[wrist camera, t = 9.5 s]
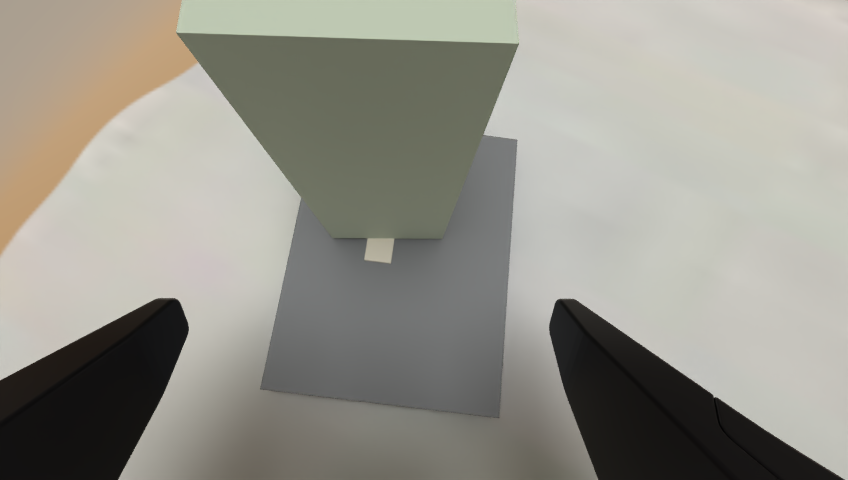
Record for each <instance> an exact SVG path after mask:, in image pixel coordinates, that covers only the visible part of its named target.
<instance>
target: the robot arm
mask: <svg viewBox="0 0 848 480" xmlns="http://www.w3.org/2000/svg"><path fill="white" fill-rule="evenodd" d="M188 331H189V326H188V322H187V319H186V317H185V314H184V311H183V309H182V306H181V304H180V302H179V301H178V300H177V299H175V298H158V299H155V300H153V301H151V302H149V303H147V304H145V305H143V306H142V307H140V308H138V309H136V310H134V311H132V312H130V313H128V314H126V315H124V316H122V317H121V318H119V319H117V320H115V321H113V322H111V323H109V324H107V325H105V326H103V327H101V328H99V329H98V330H96V331H94V332H92V333H90V334H88V335H86V336H84V337H82V338H80V339H78V340H77V341H75V342H73V343H71V344H69V345H67V346H65V347H63V348H61V349H59V350H57V351H56V352H54V353H52V354H50V355H48V356H46V357H44V358H42V359H40V360H38V361H36V362H35V363H33V364H31V365H29V366H27V367H25V368H23V369H21V370H19V371H17V372H15V373H13V374H12V375H10V376H8V377H6V378H4V379H2V380H0V480H118V479H119V477H120V475H121V473H122V471H123V469H124V467H125V466H126V464H127V462H128V460H129V458H130V456H131V454H132V452H133V451H134V449H135V447H136V445H137V443H138V441H139V439H140V437H141V436H142V434H143V432H144V430H145V428H146V426H147V424H148V422H149V421H150V419H151V417H152V415H153V413H154V411H155V409H156V407H157V406H158V404H159V402H160V400H161V398H162V396H163V394H164V391H165V389H166V387H167V385H168V382H169V380H170V377H171V375H172V372H173V370H174V367H175V365H176V362H177V360H178V358H179V355H180V353H181V350H182V348H183V345H184V343H185V340H186V338H187V335H188ZM549 331H550V336H551V340H552V344H553V348H554V352H555V356H556V360H557V363H558V367H559V371H560V375H561V379H562V383H563V386H564V390H565V393H566V395H567V398H568V401H569V404H570V406H571V409H572V412H573V414H574V417H575V420H576V422H577V425H578V427H579V430H580V433H581V435H582V438H583V441H584V443H585V446H586V448H587V451H588V454H589V456H590V459H591V462H592V464H593V467H594V470H595V472H596V475H597V477H598V480H844V479H843V478H841V477H839V476H838V475H836V474H835V473H833V472H831V471H830V470H828V469H826V468H825V467H823V466H822V465H820V464H818V463H817V462H815V461H813V460H812V459H810V458H809V457H807V456H805V455H804V454H802V453H801V452H799V451H797V450H796V449H794V448H793V447H791V446H789V445H788V444H786V443H785V442H783V441H782V440H780V439H778V438H777V437H775V436H774V435H772V434H770V433H769V432H767V431H766V430H764V429H763V428H761V427H760V426H758V425H757V424H755V423H754V422H752V421H751V420H749V419H748V418H746V417H745V416H743V415H742V414H740V413H739V412H737V411H736V410H734V409H733V408H732V407H730V406H729V405H727V404H726V403H724V402H723V401H721V400H720V399H719V398H717V397H715V398H714V397H713V395H712V394H711V393H710V392H708V391H707V390H705V389H704V388H702V387H701V386H700V385H698V384H697V383H695V382H694V381H692V380H691V379H689V378H688V377H687V376H685V375H684V374H682V373H681V372H679V371H678V370H676V369H675V368H674V367H672V366H671V365H669V364H668V363H666V362H665V361H663V360H662V359H661V358H659V357H658V356H656V355H655V354H653V353H652V352H650V351H649V350H648V349H646V348H645V347H643V346H642V345H640V344H639V343H637V342H636V341H635V340H633V339H632V338H630V337H629V336H627V335H626V334H624V333H623V332H622V331H620V330H619V329H617V328H616V327H614V326H613V325H611V324H610V323H608V322H607V321H606V320H604V319H603V318H601V317H600V316H598V315H597V314H595V313H594V312H593V311H591V310H590V309H588V308H587V307H585V306H584V305H582V304H581V303H580V302H578V301H577V300H575V299H558V300H557V301H556V303H555V306H554V309H553V313H552V317H551V321H550V325H549Z"/></svg>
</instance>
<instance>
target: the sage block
mask: <svg viewBox="0 0 848 480" xmlns="http://www.w3.org/2000/svg"><path fill="white" fill-rule="evenodd" d="M176 33H177V34H178V36H179V37H180V38H181V40H182V41H183V42H184V44H185V45H186V46H187V47H188V49H189V50H190V51H191V53H192V54H193V55H194V57H195V58H196V59H197V61H198V62H199V63H200V65H201V66H202V67H203V69H204V70H205V71H206V73H207V74H208V75H209V77H210V78H211V79H212V80H213V82H214V83H215V84H216V86H217V87H218V88H219V90H220V91H221V92H222V94H223V95H224V96H225V98H226V99H227V100H228V102H229V103H230V104H231V105H232V107H233V108H234V109H235V111H236V112H237V113H238V115H239V116H240V117H241V119H242V120H243V121H244V123H245V124H246V125H247V127H248V128H249V129H250V130H251V132H252V133H253V134H254V136H255V137H256V138H257V140H258V141H259V142H260V144H261V145H262V146H263V148H264V149H265V150H266V152H267V153H268V154H269V155H270V157H271V158H272V159H273V161H274V162H275V163H276V165H277V166H278V167H279V169H280V170H281V171H282V173H283V174H284V175H285V177H286V178H287V179H288V181H289V182H290V183H291V184H292V186H293V187H294V188H295V190H296V191H297V192H298V194H299V195H300V196H301V198H302V199H303V200H304V202H305V203H306V204H307V206H308V207H309V208H310V209H311V211H312V212H313V213H314V215H315V216H316V217H317V219H318V220H319V221H320V223H321V224H322V225H323V227H324V228H325V229H326V231H327V232H328V233H329V234H330V236H331V237H332V238H391V239H442V238H443V235H444V233H445V230H446V228H447V225H448V223H449V220H450V218H451V215H452V213H453V210H454V208H455V205H456V202H457V200H458V197H459V195H460V192H461V190H462V187H463V185H464V182H465V180H466V177H467V174H468V172H469V169H470V167H471V164H472V162H473V159H474V157H475V154H476V152H477V149H478V146H479V144H480V141H481V139H482V136H483V134H484V131H485V129H486V126H487V124H488V121H489V118H490V116H491V113H492V111H493V108H494V106H495V103H496V101H497V98H498V96H499V93H500V91H501V88H502V85H503V83H504V80H505V78H506V75H507V73H508V70H509V68H510V65H511V63H512V60H513V57H514V55H515V52H516V50H517V47H518V45H519V38H518V26H517V13H516V1H515V0H182V3H181V9H180V14H179V20H178V25H177V31H176Z"/></svg>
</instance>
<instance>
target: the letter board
mask: <svg viewBox="0 0 848 480" xmlns="http://www.w3.org/2000/svg"><path fill="white" fill-rule="evenodd" d="M516 152H517V140H515V139H508V138H501V137H493V136H486V135H483V136H482V139H481V141H480V144H479V146H478V149H477V152H476V154H475V157H474V159H473V162H472V164H471V167H470V169H469V172H468V174H467V177H466V180H465V182H464V185H463V187H462V190H461V192H460V195H459V197H458V200H457V202H456V205H455V208H454V210H453V213H452V215H451V218H450V220H449V223H448V225H447V228H446V230H445V233H444V235H443V238H442V239H391V238H332V237H331V236H330V234H329V233H328V232H327V231H326V229H325V228H324V227H323V225H322V224H321V223H320V221H319V220H318V219H317V217H316V216H315V215H314V213H313V212H312V211H311V209H310V208H309V207H308V206H307V204H306V203H305V202H304V200H303V199H302V198H301V201H300V206H299V211H298V215H297V220H296V225H295V229H294V234H293V239H292V243H291V248H290V253H289V257H288V262H287V267H286V271H285V276H284V281H283V285H282V290H281V295H280V299H279V304H278V309H277V313H276V318H275V323H274V327H273V332H272V337H271V342H270V346H269V351H268V356H267V360H266V365H265V370H264V374H263V379H262V384H261V388H260V389H263V390H271V391H279V392H288V393H296V394H304V395H312V396H321V397H329V398H337V399H345V400H354V401H362V402H370V403H379V404H387V405H395V406H403V407H412V408H420V409H428V410H436V411H445V412H453V413H461V414H470V415H478V416H486V417H494V418H499V411H500V396H501V381H502V366H503V350H504V335H505V320H506V305H507V289H508V274H509V259H510V243H511V228H512V213H513V198H514V182H515V167H516Z"/></svg>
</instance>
